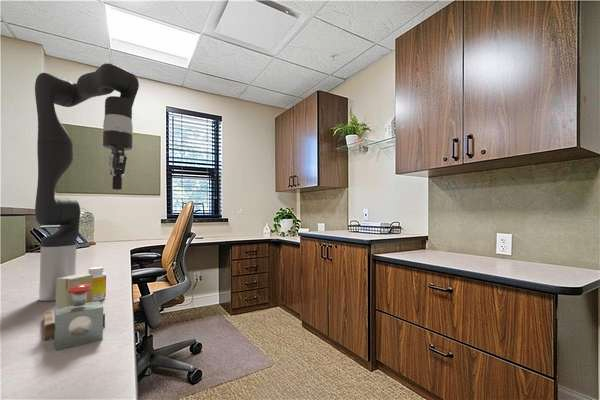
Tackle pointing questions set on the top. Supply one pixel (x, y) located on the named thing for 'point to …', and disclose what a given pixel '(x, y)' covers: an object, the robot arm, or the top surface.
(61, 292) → the skincare box
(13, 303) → the top surface
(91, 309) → the cabinet
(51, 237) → the robot arm
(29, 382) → the top surface
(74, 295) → the button
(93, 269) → the supplement bottle
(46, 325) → the rail
